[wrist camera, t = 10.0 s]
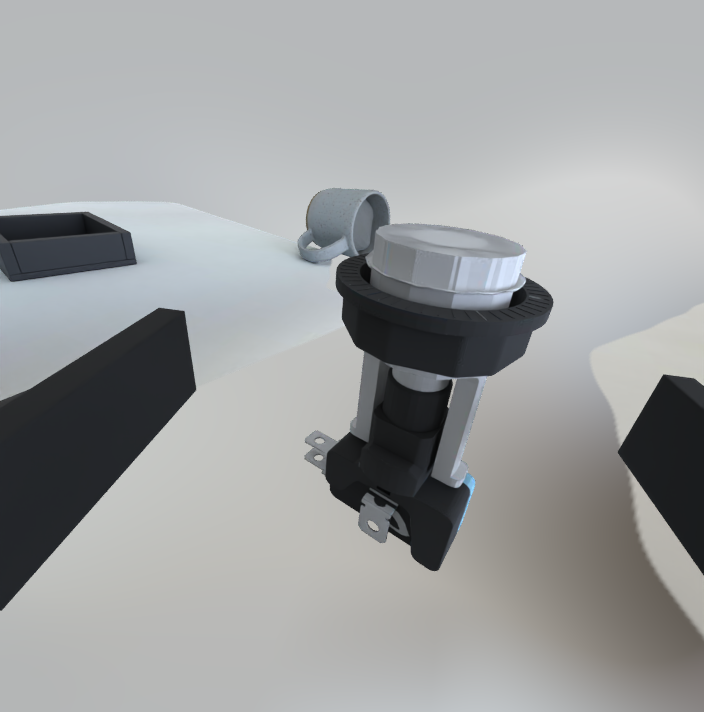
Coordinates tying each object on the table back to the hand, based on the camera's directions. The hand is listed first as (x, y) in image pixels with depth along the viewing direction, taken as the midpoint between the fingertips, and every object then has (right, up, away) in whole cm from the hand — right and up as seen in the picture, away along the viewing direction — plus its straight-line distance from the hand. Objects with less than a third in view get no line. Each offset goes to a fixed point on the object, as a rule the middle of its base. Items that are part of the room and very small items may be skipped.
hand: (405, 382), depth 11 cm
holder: (-30, +11, +26) cm, 41 cm away
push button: (-1, -5, +4) cm, 6 cm away
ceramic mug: (-3, +13, +35) cm, 37 cm away
